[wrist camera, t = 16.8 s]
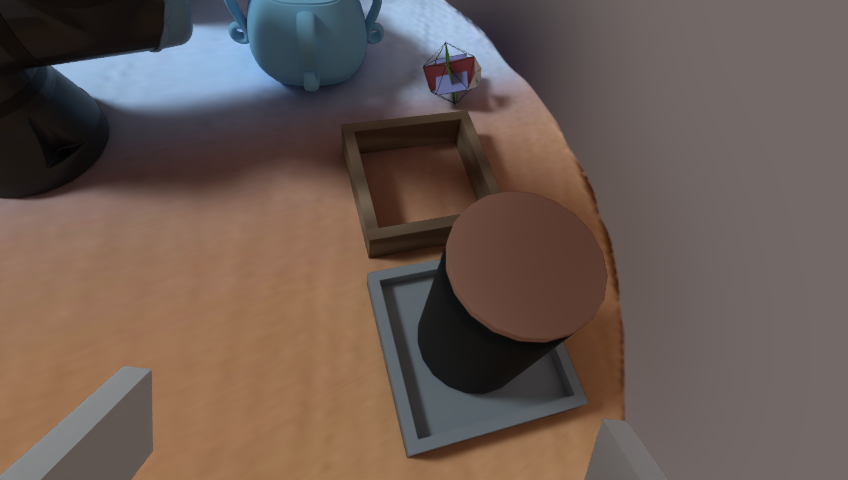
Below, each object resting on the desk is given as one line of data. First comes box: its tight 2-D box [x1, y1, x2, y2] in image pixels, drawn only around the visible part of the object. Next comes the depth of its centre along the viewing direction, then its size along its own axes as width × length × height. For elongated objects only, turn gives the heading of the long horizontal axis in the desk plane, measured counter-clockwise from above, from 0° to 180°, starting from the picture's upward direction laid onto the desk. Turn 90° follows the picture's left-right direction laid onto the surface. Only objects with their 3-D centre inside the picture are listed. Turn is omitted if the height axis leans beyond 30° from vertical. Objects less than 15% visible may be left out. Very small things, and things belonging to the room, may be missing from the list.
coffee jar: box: [417, 191, 608, 394], centre depth 37 cm, size 11×11×18 cm
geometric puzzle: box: [422, 42, 481, 105], centre depth 60 cm, size 7×7×8 cm
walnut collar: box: [342, 111, 501, 258], centre depth 52 cm, size 15×15×4 cm
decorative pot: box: [224, 0, 384, 92], centre depth 57 cm, size 16×16×14 cm
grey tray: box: [367, 259, 588, 458], centre depth 45 cm, size 17×17×2 cm
